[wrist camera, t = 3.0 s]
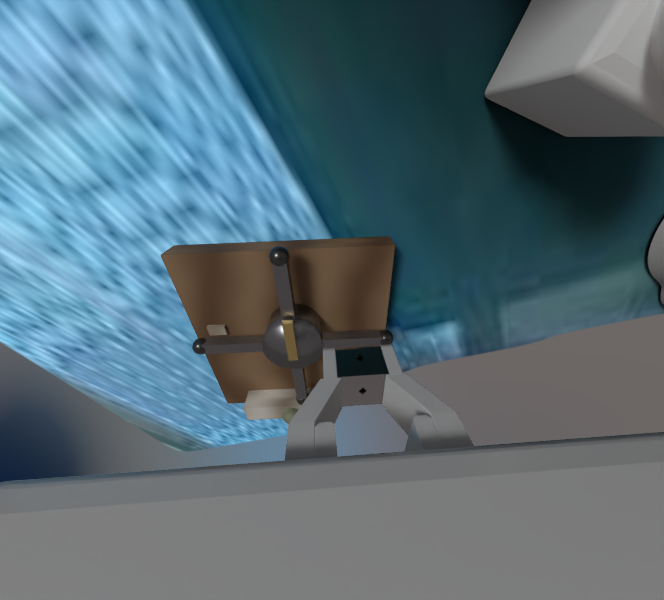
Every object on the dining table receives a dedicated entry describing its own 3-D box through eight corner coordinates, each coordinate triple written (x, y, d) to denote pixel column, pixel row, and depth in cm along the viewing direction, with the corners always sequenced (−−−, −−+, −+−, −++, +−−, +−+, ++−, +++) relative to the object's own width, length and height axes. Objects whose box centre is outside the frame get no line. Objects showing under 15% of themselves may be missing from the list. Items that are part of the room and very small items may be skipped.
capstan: (398, 230, 18) (411, 248, 15) (380, 380, 28) (386, 408, 25) (166, 240, 18) (136, 259, 15) (228, 387, 28) (217, 416, 25)
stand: (389, 236, 20) (407, 264, 16) (374, 382, 31) (383, 424, 26) (173, 245, 20) (131, 276, 16) (232, 388, 31) (217, 431, 26)
